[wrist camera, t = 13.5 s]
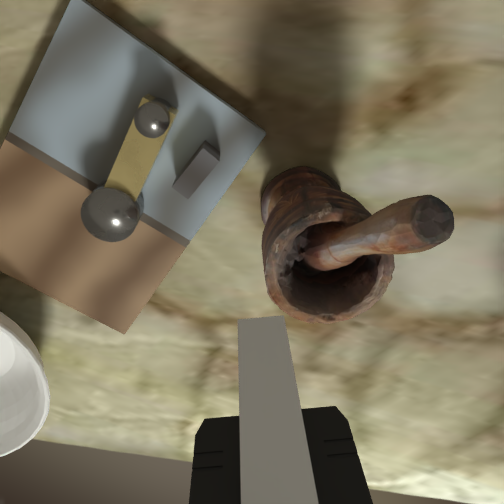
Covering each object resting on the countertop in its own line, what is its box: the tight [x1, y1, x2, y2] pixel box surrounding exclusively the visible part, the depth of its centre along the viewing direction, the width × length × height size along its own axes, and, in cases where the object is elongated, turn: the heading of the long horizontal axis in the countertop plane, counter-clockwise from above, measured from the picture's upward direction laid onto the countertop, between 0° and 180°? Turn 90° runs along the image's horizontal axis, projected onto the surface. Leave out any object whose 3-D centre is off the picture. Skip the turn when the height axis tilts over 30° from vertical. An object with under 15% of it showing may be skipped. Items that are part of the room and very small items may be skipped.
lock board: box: [0, 0, 266, 334], centre depth 37 cm, size 17×24×5 cm
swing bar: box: [81, 94, 179, 242], centre depth 35 cm, size 12×4×4 cm, turn 151°
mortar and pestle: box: [261, 167, 454, 324], centre depth 31 cm, size 12×9×20 cm
